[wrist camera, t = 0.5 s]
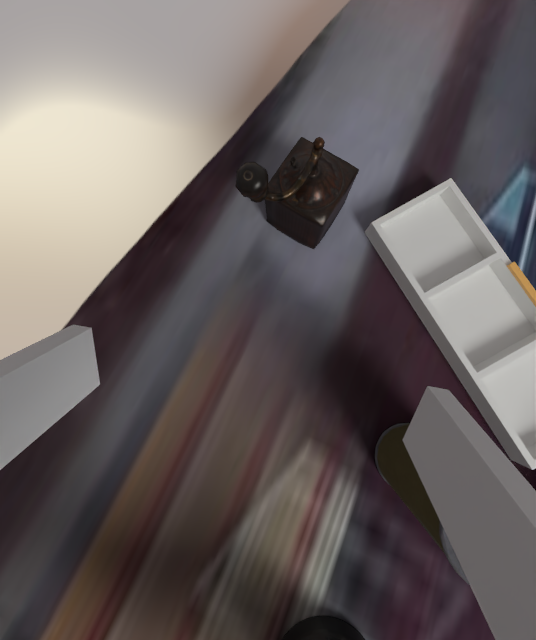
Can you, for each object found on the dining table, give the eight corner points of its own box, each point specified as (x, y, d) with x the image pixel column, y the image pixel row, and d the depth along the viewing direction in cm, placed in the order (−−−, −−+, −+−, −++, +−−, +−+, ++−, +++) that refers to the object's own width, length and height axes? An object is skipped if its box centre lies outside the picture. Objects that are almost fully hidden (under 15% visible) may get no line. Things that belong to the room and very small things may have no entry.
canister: (362, 466, 41) (438, 578, 21) (394, 409, 42) (497, 466, 22) (424, 506, 40) (566, 664, 20) (456, 447, 40) (624, 544, 21)
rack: (593, 412, 40) (628, 419, 36) (510, 459, 40) (536, 471, 36) (438, 191, 45) (453, 176, 41) (364, 232, 45) (372, 221, 41)
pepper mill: (293, 174, 47) (300, 67, 29) (345, 204, 46) (386, 112, 28) (246, 243, 46) (224, 176, 28) (298, 275, 45) (310, 226, 27)
